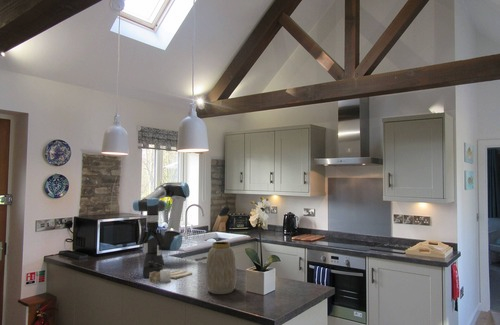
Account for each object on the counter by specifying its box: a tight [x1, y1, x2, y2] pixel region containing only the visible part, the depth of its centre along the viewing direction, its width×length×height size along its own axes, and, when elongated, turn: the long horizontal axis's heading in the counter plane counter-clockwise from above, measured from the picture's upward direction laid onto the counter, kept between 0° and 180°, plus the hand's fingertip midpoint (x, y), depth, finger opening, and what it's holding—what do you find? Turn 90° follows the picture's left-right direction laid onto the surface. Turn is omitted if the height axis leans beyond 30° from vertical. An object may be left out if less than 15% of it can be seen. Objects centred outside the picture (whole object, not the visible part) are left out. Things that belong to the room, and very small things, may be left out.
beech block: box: [148, 271, 160, 283], centre depth 228 cm, size 5×5×5 cm
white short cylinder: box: [159, 268, 172, 284], centre depth 226 cm, size 6×6×7 cm
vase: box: [205, 241, 237, 295], centre depth 207 cm, size 17×17×27 cm
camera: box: [142, 261, 164, 279], centre depth 239 cm, size 13×10×10 cm
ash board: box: [170, 269, 193, 280], centre depth 240 cm, size 12×15×1 cm
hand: (152, 254), depth 239 cm, fingers open, 13 cm apart
